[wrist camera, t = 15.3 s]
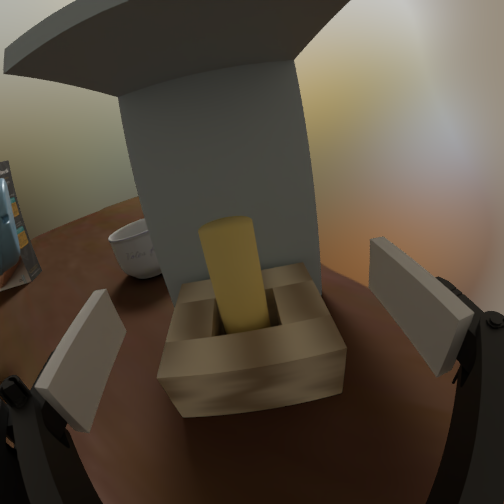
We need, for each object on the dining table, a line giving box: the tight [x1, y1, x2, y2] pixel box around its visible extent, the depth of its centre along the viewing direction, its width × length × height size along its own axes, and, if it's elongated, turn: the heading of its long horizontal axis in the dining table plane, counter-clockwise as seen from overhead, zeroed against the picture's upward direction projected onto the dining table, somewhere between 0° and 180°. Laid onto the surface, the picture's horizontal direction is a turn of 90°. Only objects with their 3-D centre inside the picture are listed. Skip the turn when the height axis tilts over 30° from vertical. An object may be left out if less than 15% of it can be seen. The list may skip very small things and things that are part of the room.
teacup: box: [108, 218, 162, 279], centre depth 42 cm, size 14×11×8 cm
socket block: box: [157, 262, 347, 417], centre depth 22 cm, size 12×12×5 cm
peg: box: [198, 216, 271, 335], centre depth 20 cm, size 4×4×12 cm
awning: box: [4, 0, 350, 307], centre depth 18 cm, size 16×17×26 cm
